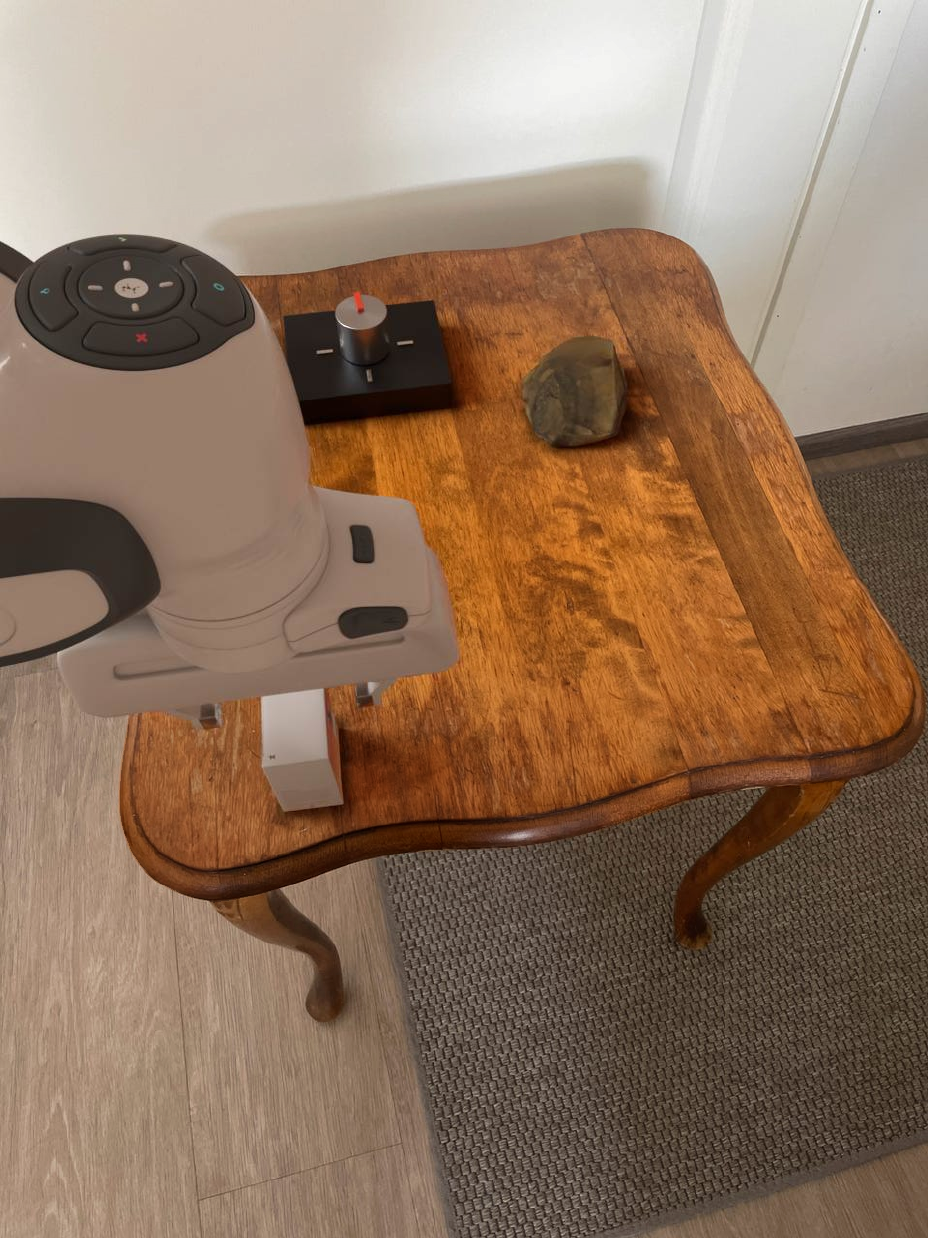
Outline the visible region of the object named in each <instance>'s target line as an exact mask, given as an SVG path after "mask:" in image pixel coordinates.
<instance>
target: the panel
mask: <svg viewBox="0 0 928 1238" xmlns="http://www.w3.org/2000/svg"><path fill="white" fill-rule="evenodd" d="M384 305H385V306H386V309H387V319H388V330H389V342H390V349H389V352H388V354H387V355H386V357H385V358H384V359H382V360H381V361H379V362H377V363H374V364H370V365H358V364H354V363H351V362H349V361H348V360H346V359H345V358H344V356H343V355H342V353H341V349H340V343H339V336H338V329H337V322H336V315H335V312H336V309H335V310H326V311H317V312H307V313H299V314H297V313H296V314H289V315H283V317H282V318H283V319H282V320H283V328H284V329H283V331H284V339H285V353H286V362H287V365H288V368H289V371H290V374H291V377H292V380H293V384H294V387H295V391H296V394H297V397H298V401H299V405H300V409H301V413H302V417H303V421H304V426H306V425H314V424H323V423H332V422H333V423H334V422H341V421H348V420H358V419H366V418H367V419H368V418H374V417H384V416H393V415H400V414H409V413H418V412H419V413H420V412H427V411H437V410H444V409H452V408H453V382H452V381H453V380H452V377H451V373H450V368H449V363H448V358H447V353H446V349H445V345H444V341H443V340H444V339H443V335H442V331H441V327H440V321H439V316H438V312H437V307H436V302H435V300H434V299H432V300H431V299H429V300H421V301H420V300H419V301H411V302H402V303H392V304H384Z"/></svg>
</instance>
